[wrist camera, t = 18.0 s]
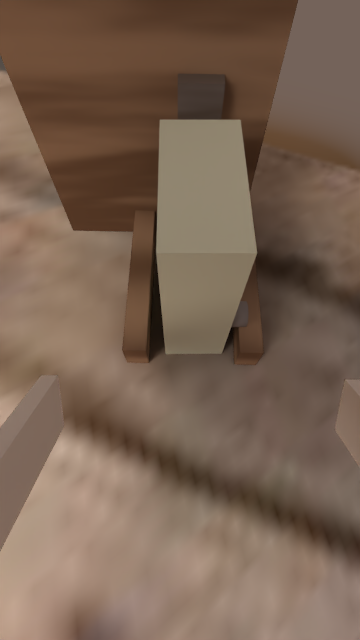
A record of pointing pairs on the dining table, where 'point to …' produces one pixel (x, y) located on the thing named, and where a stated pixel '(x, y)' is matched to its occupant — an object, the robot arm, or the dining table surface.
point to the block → (203, 233)
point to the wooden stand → (140, 111)
